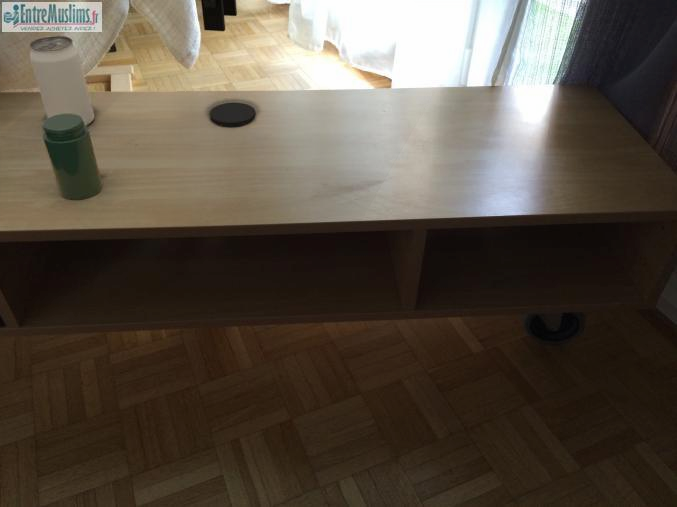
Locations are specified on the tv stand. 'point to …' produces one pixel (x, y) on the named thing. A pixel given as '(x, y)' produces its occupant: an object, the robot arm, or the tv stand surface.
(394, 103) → the tv stand surface
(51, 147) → the jar
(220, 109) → the coaster
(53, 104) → the can
